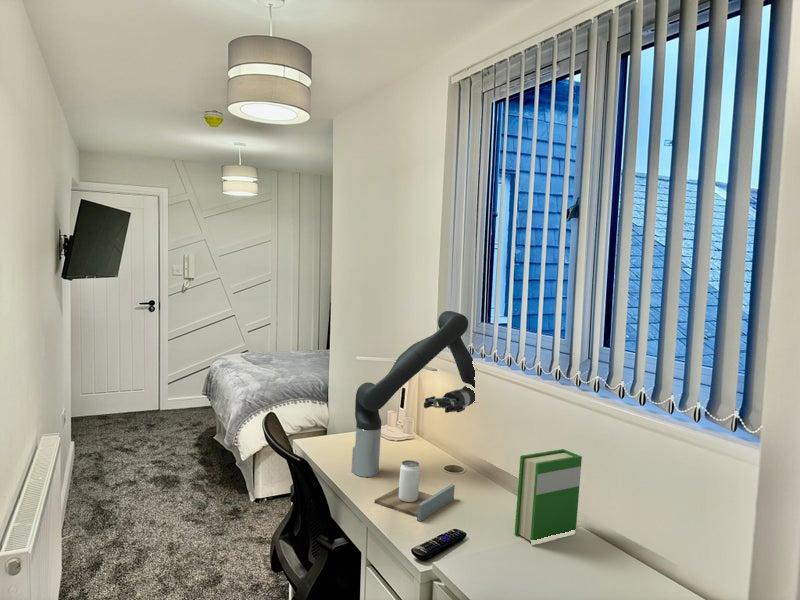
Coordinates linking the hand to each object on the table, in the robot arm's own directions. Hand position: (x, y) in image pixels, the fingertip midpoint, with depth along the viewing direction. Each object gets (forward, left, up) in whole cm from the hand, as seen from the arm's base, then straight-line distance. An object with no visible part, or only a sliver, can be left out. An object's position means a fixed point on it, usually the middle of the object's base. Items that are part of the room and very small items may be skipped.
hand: (435, 407), depth 206 cm
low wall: (+12, -17, -28) cm, 35 cm away
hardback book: (+46, -11, -28) cm, 55 cm away
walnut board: (+2, -18, -28) cm, 33 cm away
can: (+2, -18, -27) cm, 33 cm away
